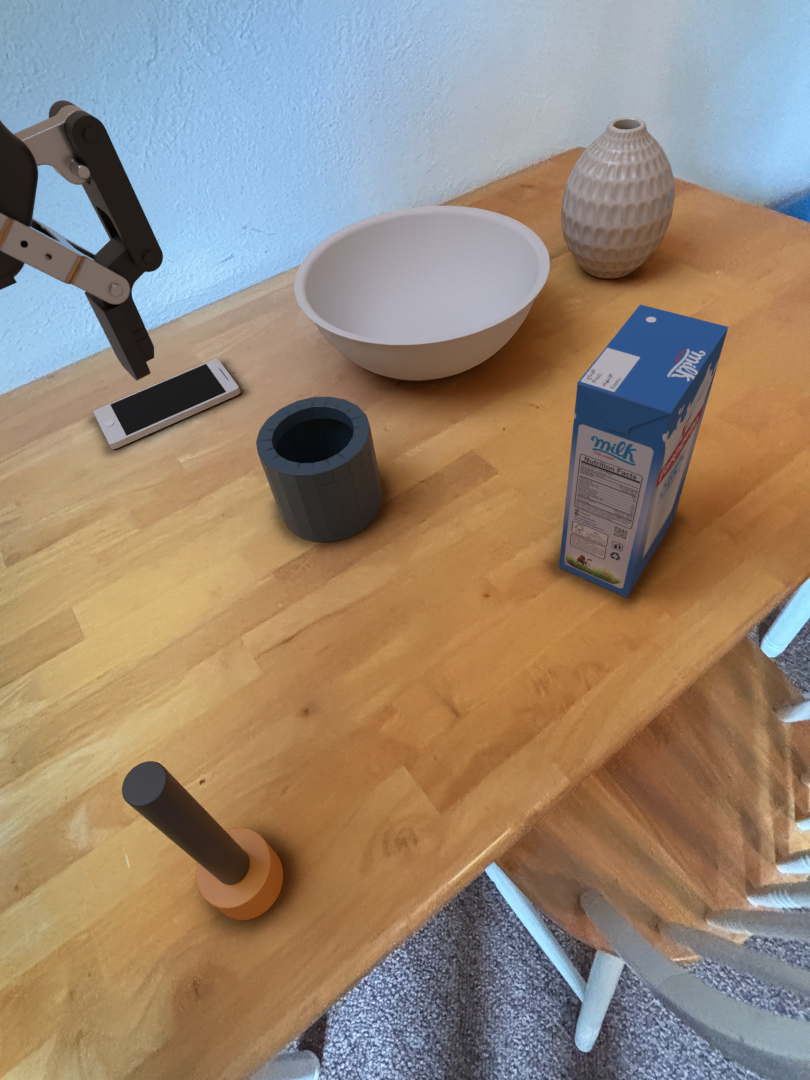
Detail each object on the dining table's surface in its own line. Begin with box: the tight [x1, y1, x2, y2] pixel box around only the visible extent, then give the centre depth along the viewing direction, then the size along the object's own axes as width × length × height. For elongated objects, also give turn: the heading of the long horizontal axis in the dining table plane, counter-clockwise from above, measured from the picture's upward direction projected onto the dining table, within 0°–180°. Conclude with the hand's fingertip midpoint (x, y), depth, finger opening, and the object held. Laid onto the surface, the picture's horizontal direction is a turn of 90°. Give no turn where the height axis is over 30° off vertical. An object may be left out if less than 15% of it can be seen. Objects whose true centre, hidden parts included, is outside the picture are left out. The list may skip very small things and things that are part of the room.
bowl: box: [293, 205, 551, 381], centre depth 79 cm, size 27×27×10 cm
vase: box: [560, 116, 676, 280], centre depth 83 cm, size 13×13×17 cm
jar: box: [255, 396, 384, 543], centre depth 65 cm, size 10×10×9 cm
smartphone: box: [93, 358, 241, 450], centre depth 81 cm, size 7×16×1 cm, turn 121°
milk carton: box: [558, 304, 729, 599], centre depth 54 cm, size 10×6×20 cm, turn 145°
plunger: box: [121, 760, 284, 921], centre depth 41 cm, size 5×5×18 cm
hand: (48, 415), depth 31 cm, fingers open, 8 cm apart
